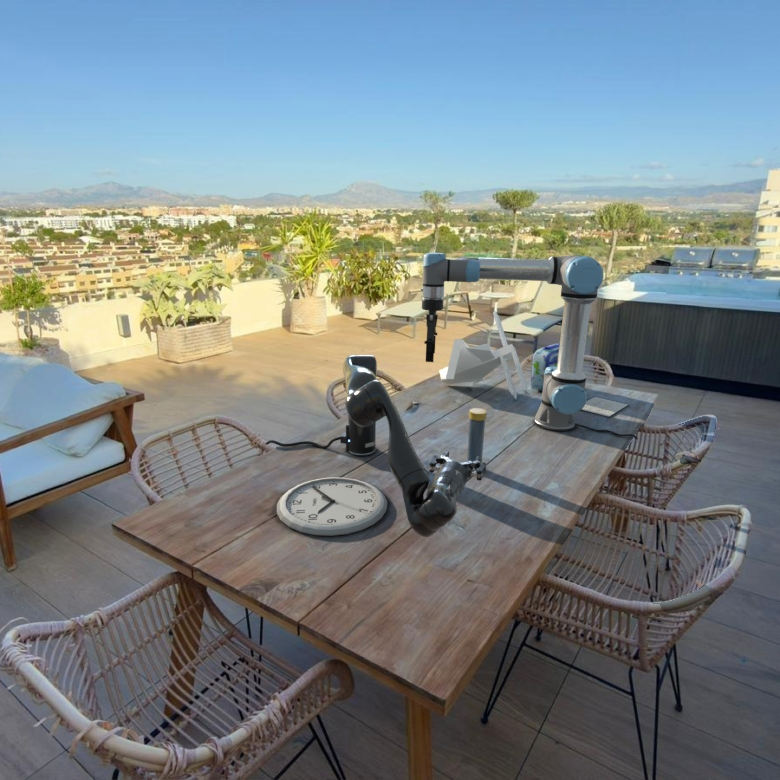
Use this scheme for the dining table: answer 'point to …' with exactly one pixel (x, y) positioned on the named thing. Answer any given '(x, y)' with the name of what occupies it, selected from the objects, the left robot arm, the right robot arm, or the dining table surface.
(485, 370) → the white plastic object
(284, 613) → the dining table surface
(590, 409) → the invitation card
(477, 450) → the bottle
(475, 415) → the lid
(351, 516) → the wall clock
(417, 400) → the fork
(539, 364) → the lunch box
